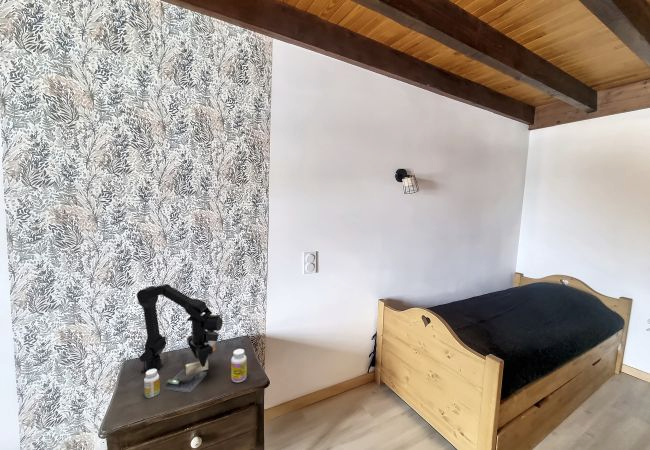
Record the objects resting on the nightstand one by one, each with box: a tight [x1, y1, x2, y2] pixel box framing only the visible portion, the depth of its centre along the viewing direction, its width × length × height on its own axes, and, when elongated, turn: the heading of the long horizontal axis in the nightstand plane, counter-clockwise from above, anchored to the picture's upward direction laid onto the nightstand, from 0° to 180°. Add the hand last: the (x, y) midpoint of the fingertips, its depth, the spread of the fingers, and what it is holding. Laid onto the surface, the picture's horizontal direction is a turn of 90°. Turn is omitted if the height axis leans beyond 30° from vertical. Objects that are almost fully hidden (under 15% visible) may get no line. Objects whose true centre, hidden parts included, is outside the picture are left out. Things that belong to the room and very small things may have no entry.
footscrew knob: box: [176, 358, 209, 384], centre depth 124 cm, size 12×7×6 cm, turn 121°
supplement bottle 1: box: [143, 369, 161, 399], centre depth 115 cm, size 5×5×10 cm
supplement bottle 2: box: [230, 348, 248, 384], centre depth 125 cm, size 7×7×13 cm
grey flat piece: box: [163, 369, 208, 393], centre depth 125 cm, size 12×17×4 cm
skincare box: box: [205, 330, 216, 357], centre depth 147 cm, size 6×4×12 cm
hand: (200, 362), depth 129 cm, fingers open, 9 cm apart
